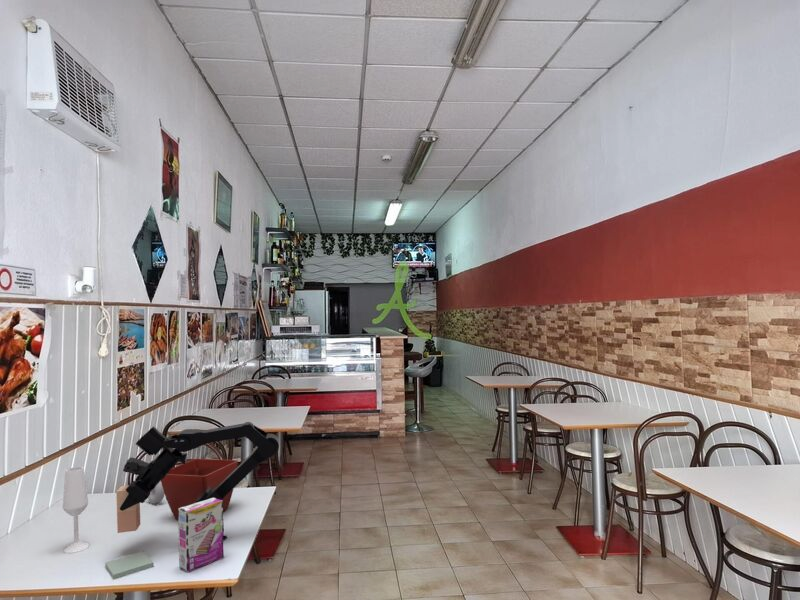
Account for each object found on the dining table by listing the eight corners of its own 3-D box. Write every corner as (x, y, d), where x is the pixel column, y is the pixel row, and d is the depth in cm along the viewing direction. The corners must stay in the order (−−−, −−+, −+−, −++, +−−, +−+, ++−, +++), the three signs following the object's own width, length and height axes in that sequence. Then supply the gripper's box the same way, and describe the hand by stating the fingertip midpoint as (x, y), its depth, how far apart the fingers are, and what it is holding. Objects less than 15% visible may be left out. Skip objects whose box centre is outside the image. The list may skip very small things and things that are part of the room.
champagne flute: (66, 545, 165) (64, 467, 166) (91, 541, 167) (89, 464, 168) (61, 554, 159) (59, 473, 159) (87, 550, 161) (84, 470, 162)
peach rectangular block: (140, 524, 161) (139, 484, 162) (136, 530, 157) (134, 489, 157) (122, 526, 160) (121, 486, 161) (117, 533, 155) (116, 491, 156)
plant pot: (159, 523, 181) (157, 473, 181) (197, 503, 199) (195, 458, 199) (206, 527, 175) (204, 475, 175) (241, 507, 193) (239, 460, 193)
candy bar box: (188, 573, 143) (186, 511, 143) (178, 568, 146) (176, 508, 147) (225, 557, 152) (223, 499, 152) (215, 553, 155) (213, 496, 155)
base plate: (143, 555, 155) (143, 551, 156) (153, 566, 148) (153, 562, 148) (105, 566, 149) (105, 562, 149) (113, 579, 141) (113, 574, 141)
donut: (167, 504, 199) (166, 477, 199) (158, 507, 196) (157, 479, 197) (153, 499, 205) (152, 473, 205) (144, 502, 202) (143, 475, 203)
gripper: (148, 441, 169) (111, 480, 166) (132, 455, 151) (90, 500, 148) (175, 463, 171) (139, 502, 168) (163, 480, 152) (122, 524, 150)
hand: (123, 506), depth 158 cm, fingers closed on peach rectangular block, 5 cm apart
